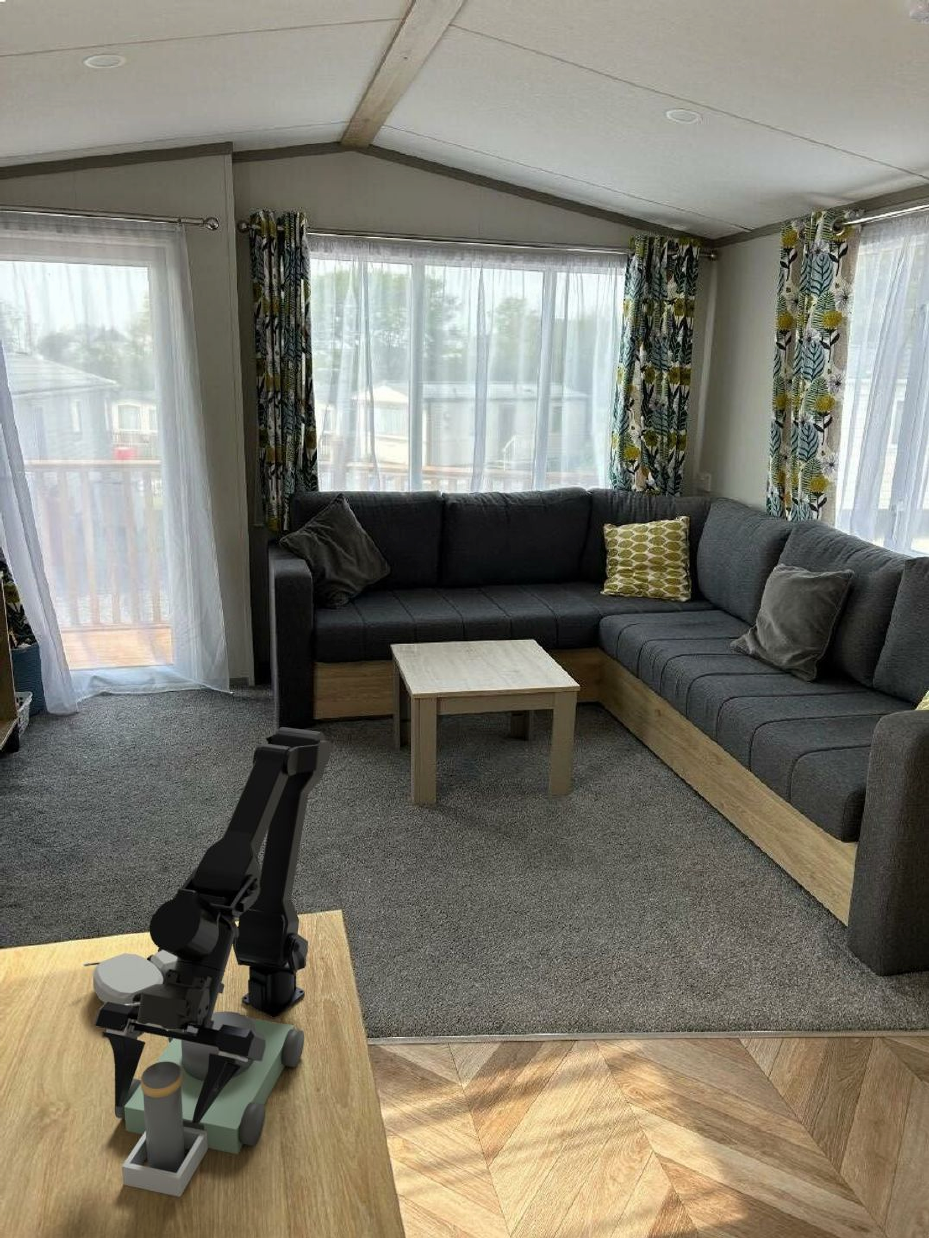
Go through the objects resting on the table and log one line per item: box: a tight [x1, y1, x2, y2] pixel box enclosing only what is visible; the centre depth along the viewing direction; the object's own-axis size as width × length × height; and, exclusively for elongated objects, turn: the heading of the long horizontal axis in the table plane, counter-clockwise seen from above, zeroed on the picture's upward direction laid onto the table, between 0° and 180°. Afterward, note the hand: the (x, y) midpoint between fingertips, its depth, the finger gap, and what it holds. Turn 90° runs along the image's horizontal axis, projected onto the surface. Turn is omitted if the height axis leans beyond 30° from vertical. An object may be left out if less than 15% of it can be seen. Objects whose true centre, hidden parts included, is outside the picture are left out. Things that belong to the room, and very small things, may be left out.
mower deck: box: [114, 1010, 305, 1198], centre depth 119 cm, size 25×17×6 cm
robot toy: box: [83, 947, 177, 1008], centre depth 141 cm, size 12×4×15 cm
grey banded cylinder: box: [140, 1061, 186, 1173], centre depth 110 cm, size 4×4×12 cm
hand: (156, 1115), depth 108 cm, fingers open, 9 cm apart
